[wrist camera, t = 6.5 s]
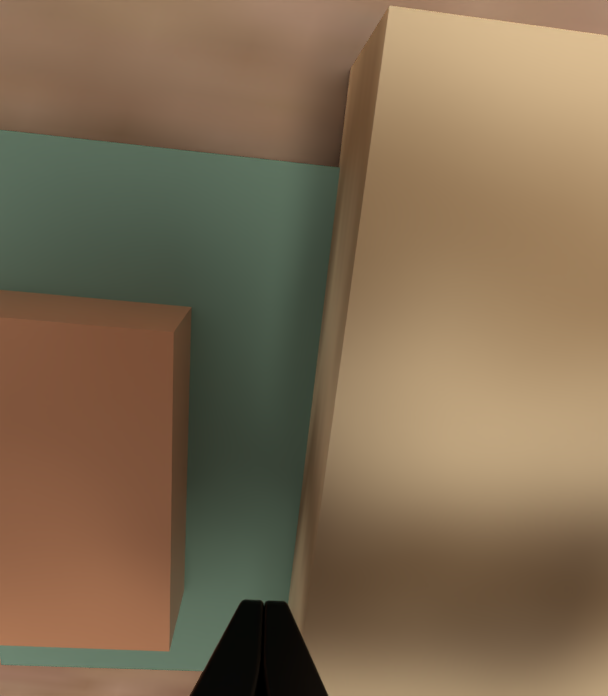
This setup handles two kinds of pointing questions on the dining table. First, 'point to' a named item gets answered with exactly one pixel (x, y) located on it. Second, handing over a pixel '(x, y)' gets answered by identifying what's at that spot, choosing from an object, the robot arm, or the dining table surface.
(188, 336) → the orange-brown flat block
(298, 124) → the dining table surface
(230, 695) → the robot arm
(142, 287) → the mat
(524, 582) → the deck
